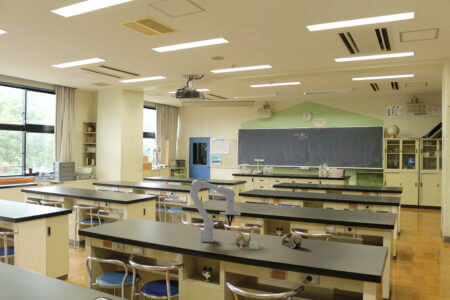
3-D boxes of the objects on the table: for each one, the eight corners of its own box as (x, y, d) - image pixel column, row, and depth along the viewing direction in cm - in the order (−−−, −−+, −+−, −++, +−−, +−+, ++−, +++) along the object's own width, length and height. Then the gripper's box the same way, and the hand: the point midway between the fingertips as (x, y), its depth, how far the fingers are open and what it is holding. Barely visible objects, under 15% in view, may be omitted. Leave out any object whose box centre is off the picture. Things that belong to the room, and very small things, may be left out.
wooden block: (237, 234, 231) (250, 238, 231) (237, 232, 239) (249, 235, 239) (235, 242, 231) (248, 245, 231) (235, 239, 239) (247, 242, 239)
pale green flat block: (239, 248, 225) (240, 246, 225) (238, 240, 245) (238, 238, 245) (259, 248, 225) (259, 246, 225) (256, 241, 245) (256, 239, 245)
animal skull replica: (286, 243, 242) (286, 228, 242) (305, 248, 229) (305, 233, 229) (278, 244, 237) (278, 230, 237) (297, 250, 223) (297, 234, 224)
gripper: (220, 207, 244) (219, 226, 244) (240, 207, 244) (240, 226, 244) (220, 205, 251) (220, 224, 251) (240, 205, 251) (240, 224, 251)
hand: (230, 225), depth 248 cm, fingers closed
